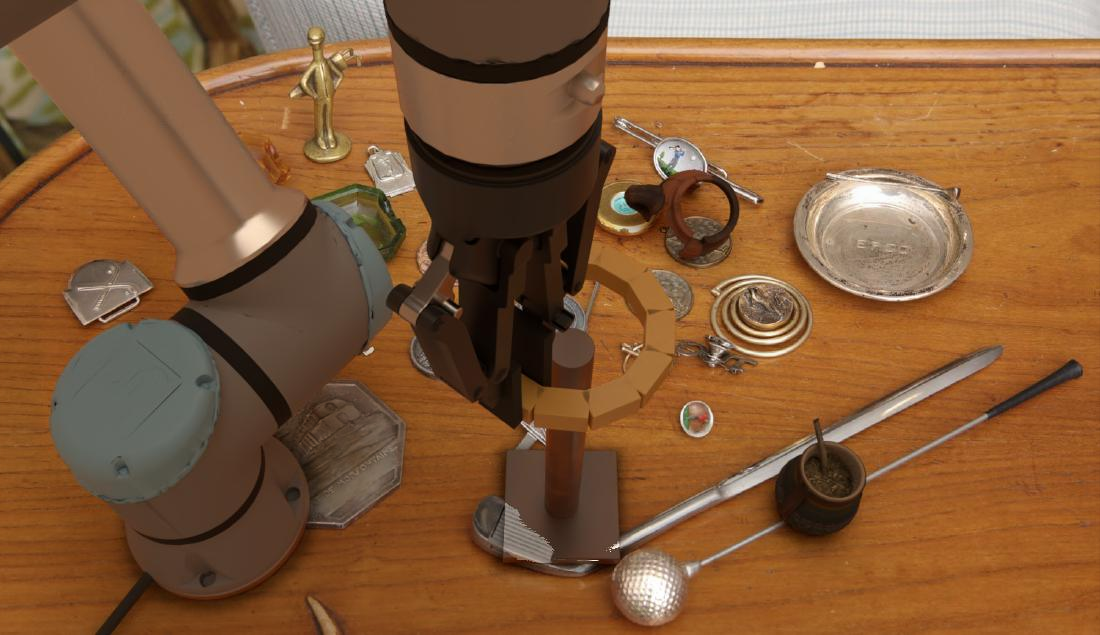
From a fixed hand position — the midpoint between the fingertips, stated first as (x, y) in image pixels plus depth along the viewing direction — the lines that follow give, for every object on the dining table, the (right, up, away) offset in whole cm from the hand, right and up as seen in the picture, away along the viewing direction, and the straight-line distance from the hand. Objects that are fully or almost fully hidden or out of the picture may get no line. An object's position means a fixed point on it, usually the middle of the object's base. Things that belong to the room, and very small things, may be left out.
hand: (515, 395), depth 54 cm
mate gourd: (+25, -12, +28) cm, 40 cm away
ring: (+3, +3, +3) cm, 5 cm away
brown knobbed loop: (+16, +14, +45) cm, 50 cm away
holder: (+3, -12, +28) cm, 30 cm away
